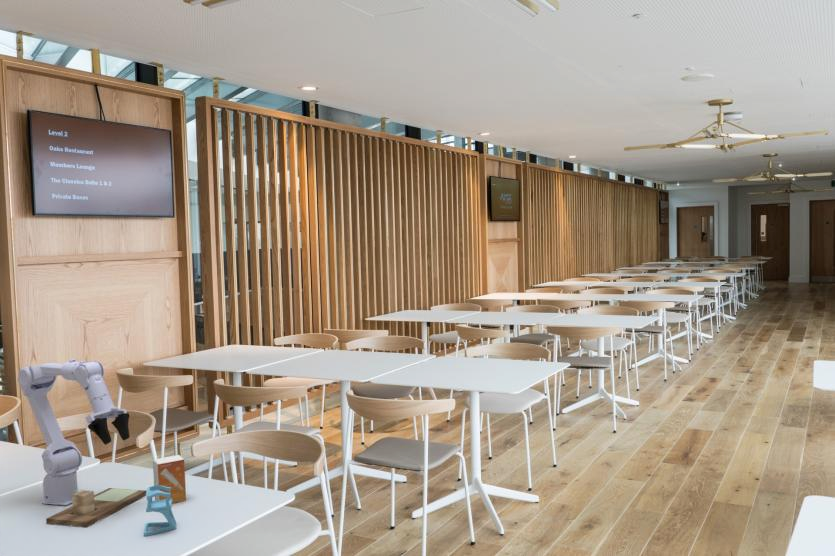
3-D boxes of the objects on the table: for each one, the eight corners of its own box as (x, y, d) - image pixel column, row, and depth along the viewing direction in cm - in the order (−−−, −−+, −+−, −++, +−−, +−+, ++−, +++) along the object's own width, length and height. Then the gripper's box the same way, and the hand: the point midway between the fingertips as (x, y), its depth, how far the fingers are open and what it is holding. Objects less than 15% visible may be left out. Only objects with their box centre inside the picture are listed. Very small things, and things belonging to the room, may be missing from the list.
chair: (175, 532, 196) (173, 488, 195) (143, 536, 193) (141, 492, 193) (176, 522, 203) (175, 480, 203) (145, 526, 201) (143, 483, 200)
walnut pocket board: (46, 523, 206) (46, 518, 206) (109, 492, 231) (109, 488, 231) (86, 527, 202) (86, 522, 202) (146, 495, 227) (146, 490, 227)
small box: (159, 506, 216) (157, 464, 215) (154, 501, 221) (152, 459, 220) (187, 500, 220) (184, 458, 220) (181, 495, 225) (178, 454, 225)
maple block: (73, 518, 209) (72, 494, 209) (83, 513, 213) (82, 490, 213) (85, 519, 208) (83, 495, 208) (95, 514, 212) (93, 491, 211)
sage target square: (89, 500, 219) (89, 499, 219) (112, 489, 229) (112, 488, 229) (117, 502, 217) (117, 501, 217) (138, 491, 226) (138, 490, 226)
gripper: (92, 395, 205) (109, 438, 203) (126, 390, 219) (144, 431, 217) (74, 406, 207) (91, 449, 204) (110, 401, 221) (126, 441, 218)
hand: (117, 441), depth 211 cm, fingers open, 7 cm apart
